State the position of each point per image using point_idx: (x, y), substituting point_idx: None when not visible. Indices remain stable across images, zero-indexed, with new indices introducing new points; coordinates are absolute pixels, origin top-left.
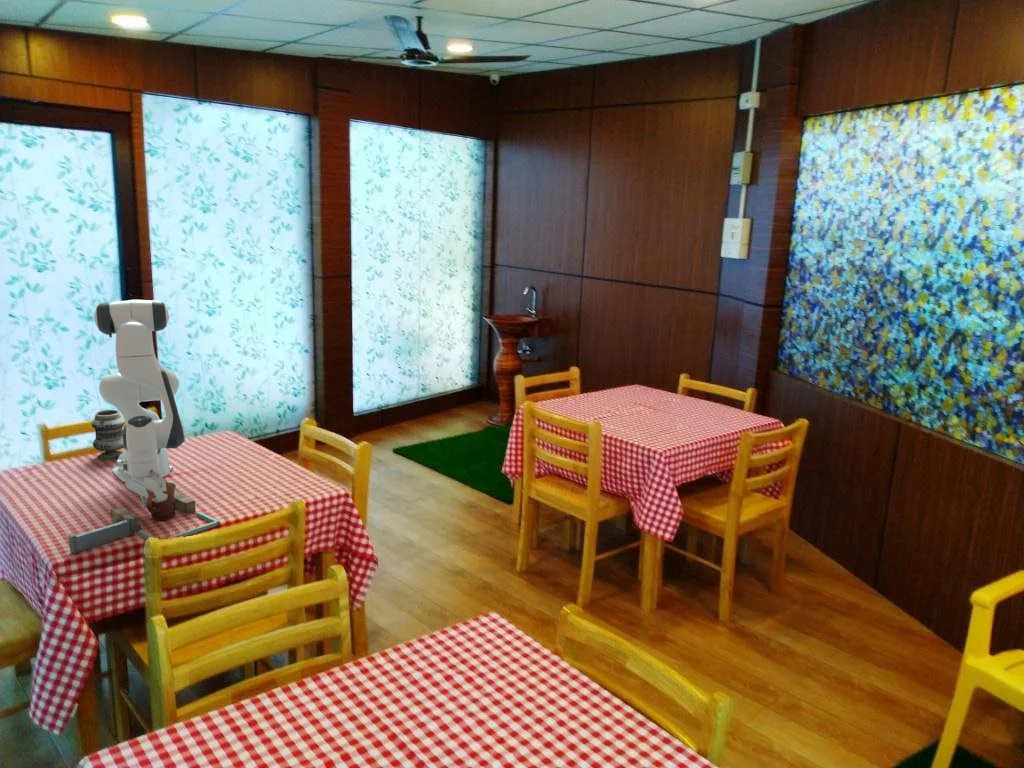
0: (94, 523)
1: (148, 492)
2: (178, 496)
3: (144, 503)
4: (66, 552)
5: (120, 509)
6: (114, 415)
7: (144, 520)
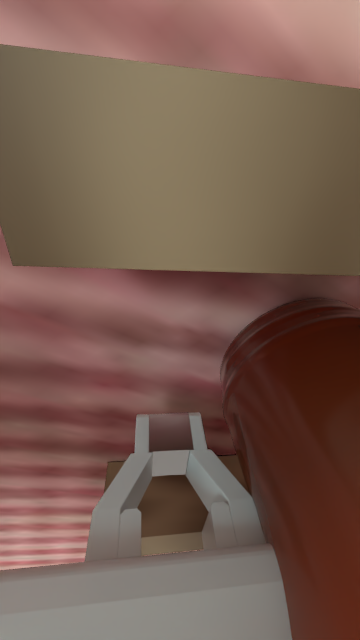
0: (83, 510)
1: None
2: (322, 200)
3: (158, 474)
4: None
5: (143, 543)
6: None
7: (223, 419)
